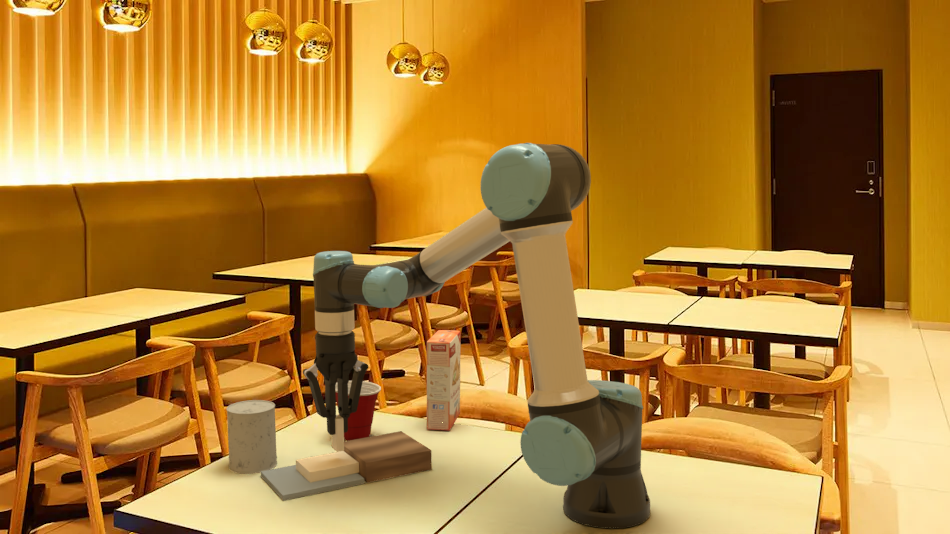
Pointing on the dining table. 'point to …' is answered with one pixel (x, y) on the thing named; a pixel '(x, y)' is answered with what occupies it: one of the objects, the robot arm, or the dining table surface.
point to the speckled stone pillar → (251, 436)
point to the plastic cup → (361, 411)
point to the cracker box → (443, 379)
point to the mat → (304, 482)
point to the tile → (327, 466)
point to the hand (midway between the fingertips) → (338, 449)
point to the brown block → (388, 456)
